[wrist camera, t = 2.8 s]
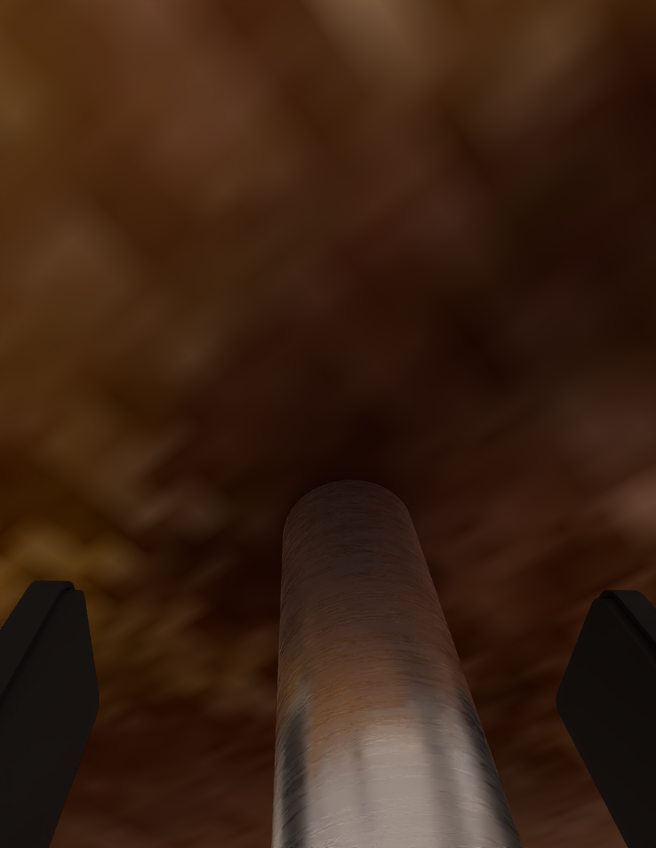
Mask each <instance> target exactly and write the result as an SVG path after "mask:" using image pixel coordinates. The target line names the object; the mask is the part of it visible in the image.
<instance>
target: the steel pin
mask: <svg viewBox="0 0 656 848" xmlns="http://www.w3.org/2000/svg"><path fill="white" fill-rule="evenodd" d="M271 848H523V846H522V843H521V840H520V837H519V834H518V831H517V828H516V825H515V822H514V819H513V816H512V813H511V810H510V807H509V805H508V802H507V799H506V796H505V793H504V790H503V787H502V784H501V781H500V778H499V775H498V772H497V769H496V766H495V763H494V760H493V757H492V755H491V752H490V749H489V746H488V743H487V740H486V737H485V734H484V731H483V728H482V725H481V722H480V719H479V716H478V713H477V710H476V708H475V705H474V702H473V699H472V696H471V693H470V690H469V687H468V684H467V681H466V678H465V675H464V672H463V669H462V666H461V663H460V660H459V658H458V655H457V652H456V649H455V646H454V643H453V640H452V637H451V634H450V631H449V628H448V625H447V622H446V619H445V616H444V613H443V610H442V608H441V605H440V602H439V599H438V596H437V593H436V590H435V587H434V584H433V581H432V578H431V575H430V572H429V569H428V566H427V563H426V561H425V558H424V555H423V552H422V549H421V546H420V543H419V540H418V537H417V534H416V531H415V528H414V525H413V522H412V519H411V516H410V514H409V511H408V509H407V508H406V506H405V504H404V503H403V502H402V501H401V499H400V498H399V497H398V496H397V495H395V494H394V493H393V492H392V491H390V490H389V489H387V488H385V487H383V486H381V485H378V484H376V483H373V482H369V481H364V480H340V481H334V482H330V483H327V484H324V485H321V486H319V487H317V488H315V489H313V490H311V491H310V492H308V493H307V494H305V495H304V496H303V497H302V498H301V499H300V500H299V501H298V502H297V503H296V504H295V505H294V506H293V508H292V509H291V511H290V512H289V514H288V516H287V518H286V521H285V525H284V530H283V549H282V576H281V603H280V630H279V658H278V685H277V712H276V739H275V766H274V793H273V820H272V847H271Z"/></svg>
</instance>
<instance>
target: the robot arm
mask: <svg viewBox="0 0 656 848" xmlns="http://www.w3.org/2000/svg"><path fill="white" fill-rule="evenodd" d="M556 702H557V708H558V712H559V714H560V716H561V718H562V720H563V722H564V724H565V726H566V728H567V730H568V732H569V734H570V736H571V738H572V740H573V742H574V744H575V745H576V747H577V749H578V751H579V753H580V755H581V757H582V759H583V761H584V763H585V765H586V767H587V769H588V771H589V773H590V775H591V777H592V778H593V780H594V782H595V784H596V786H597V788H598V790H599V792H600V794H601V796H602V798H603V800H604V802H605V804H606V806H607V808H608V810H609V811H610V813H611V815H612V817H613V819H614V821H615V823H616V825H617V827H618V829H619V831H620V833H621V835H622V837H623V839H624V841H625V843H626V844H627V846H628V848H656V609H655V608H654V606H653V605H652V604H651V603H650V602H649V601H648V599H647V598H646V597H645V596H644V595H643V594H641V593H640V592H638V591H630V590H605V591H604V592H602V593H601V595H600V596H599V598H596V599H594V601H593V602H592V604H591V607H590V609H589V612H588V615H587V617H586V620H585V622H584V625H583V628H582V630H581V633H580V635H579V638H578V641H577V643H576V646H575V648H574V651H573V653H572V656H571V659H570V661H569V664H568V666H567V669H566V672H565V674H564V677H563V679H562V682H561V685H560V687H559V690H558V692H557V698H556ZM98 705H99V693H98V686H97V679H96V672H95V665H94V658H93V651H92V644H91V638H90V631H89V624H88V617H87V610H86V603H85V596H84V592H83V591H82V590H75V589H74V585H73V584H72V582H70V581H34V582H33V583H32V584H31V585H30V586H29V587H28V589H27V590H26V592H25V593H24V595H23V596H22V598H21V599H20V601H19V602H18V604H17V605H16V607H15V609H14V610H13V612H12V613H11V615H10V616H9V618H8V619H7V621H6V622H5V624H4V625H3V627H2V628H1V630H0V848H49V845H50V842H51V840H52V837H53V834H54V831H55V829H56V826H57V823H58V820H59V818H60V815H61V812H62V809H63V807H64V804H65V801H66V798H67V796H68V793H69V790H70V788H71V785H72V782H73V779H74V777H75V774H76V771H77V768H78V766H79V763H80V760H81V757H82V755H83V752H84V749H85V746H86V744H87V741H88V738H89V735H90V733H91V730H92V727H93V724H94V722H95V719H96V715H97V711H98Z"/></svg>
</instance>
